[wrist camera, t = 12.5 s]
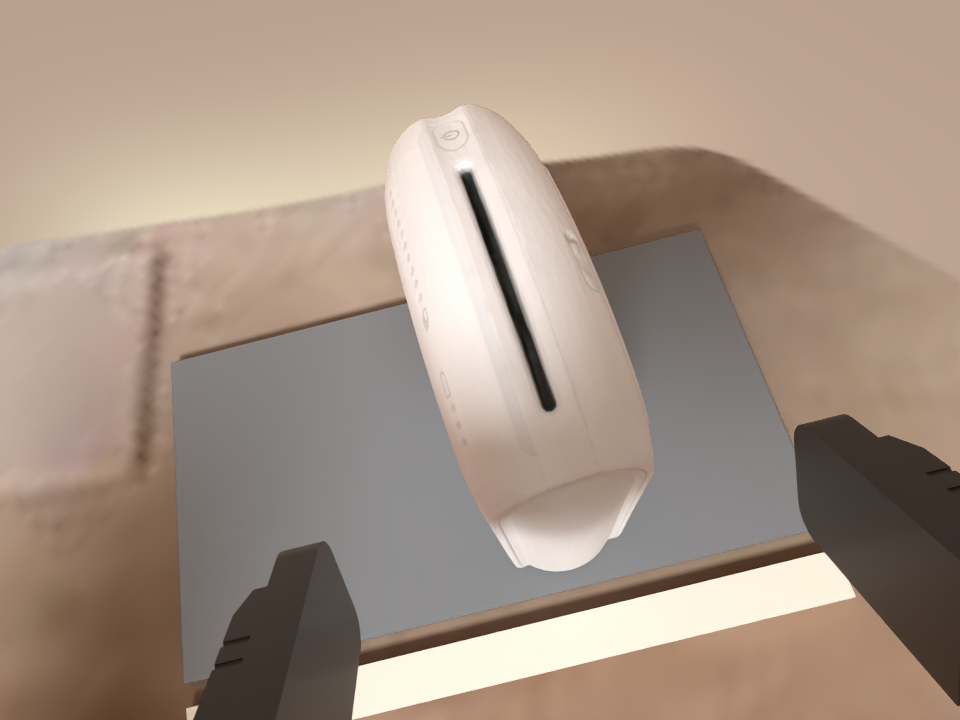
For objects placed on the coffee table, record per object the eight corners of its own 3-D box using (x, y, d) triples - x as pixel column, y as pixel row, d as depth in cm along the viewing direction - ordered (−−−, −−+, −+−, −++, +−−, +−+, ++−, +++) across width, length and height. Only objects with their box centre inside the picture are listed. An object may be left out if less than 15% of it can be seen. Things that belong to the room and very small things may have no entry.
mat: (697, 235, 27) (699, 228, 26) (850, 597, 21) (856, 596, 21) (177, 367, 27) (171, 362, 27) (194, 757, 22) (186, 760, 21)
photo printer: (432, 326, 26) (336, 92, 15) (536, 293, 26) (519, 34, 15) (512, 590, 22) (462, 546, 11) (634, 550, 22) (713, 465, 11)
